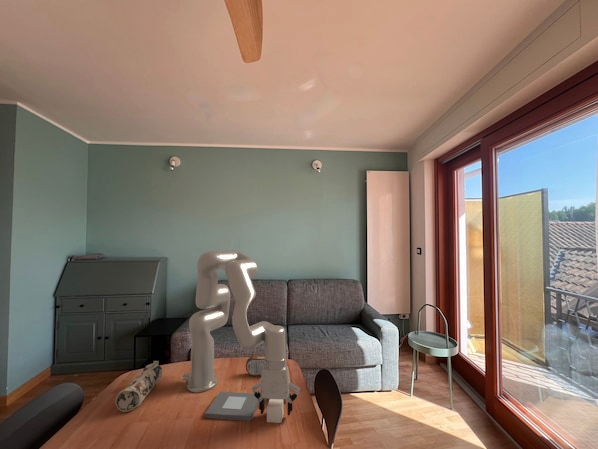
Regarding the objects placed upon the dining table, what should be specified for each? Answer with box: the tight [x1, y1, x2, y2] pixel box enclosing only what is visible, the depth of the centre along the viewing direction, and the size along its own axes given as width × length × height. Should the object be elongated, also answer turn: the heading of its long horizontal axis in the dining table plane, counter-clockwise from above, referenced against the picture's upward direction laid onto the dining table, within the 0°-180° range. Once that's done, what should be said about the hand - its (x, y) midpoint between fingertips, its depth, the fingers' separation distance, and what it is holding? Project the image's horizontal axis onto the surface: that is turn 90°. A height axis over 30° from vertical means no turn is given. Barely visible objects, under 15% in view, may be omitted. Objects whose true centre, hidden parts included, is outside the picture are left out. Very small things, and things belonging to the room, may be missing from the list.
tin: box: [245, 355, 265, 377], centre depth 119 cm, size 15×3×8 cm, turn 89°
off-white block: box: [266, 399, 285, 424], centre depth 91 cm, size 5×5×5 cm
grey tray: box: [204, 391, 259, 422], centre depth 96 cm, size 17×13×2 cm
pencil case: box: [114, 360, 163, 413], centre depth 103 cm, size 22×8×10 cm, turn 6°
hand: (275, 412), depth 90 cm, fingers open, 9 cm apart
